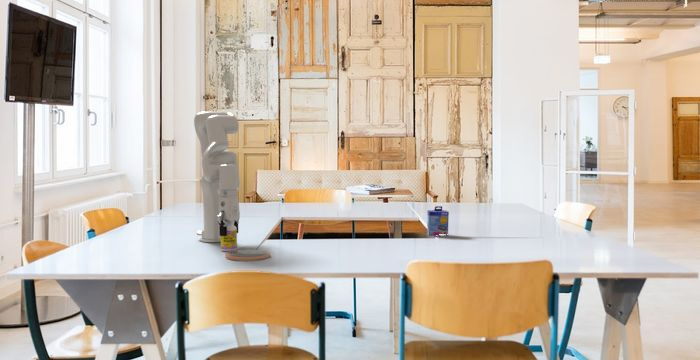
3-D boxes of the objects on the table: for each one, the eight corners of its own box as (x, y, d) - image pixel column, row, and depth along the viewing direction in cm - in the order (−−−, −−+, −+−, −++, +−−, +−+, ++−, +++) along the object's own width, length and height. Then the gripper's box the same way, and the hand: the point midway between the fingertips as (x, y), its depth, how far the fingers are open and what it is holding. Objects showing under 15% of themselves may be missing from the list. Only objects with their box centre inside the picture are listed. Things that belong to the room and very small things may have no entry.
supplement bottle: (221, 252, 267) (221, 221, 266) (220, 249, 274) (219, 219, 273) (237, 251, 269) (237, 220, 268) (236, 248, 275) (235, 218, 275)
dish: (216, 259, 252) (216, 255, 252) (238, 251, 269) (238, 248, 269) (258, 262, 246) (258, 258, 246) (277, 253, 263) (277, 250, 263)
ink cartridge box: (428, 236, 310) (428, 206, 309) (426, 234, 316) (426, 205, 315) (448, 236, 311) (449, 206, 310) (446, 234, 316) (446, 205, 315)
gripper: (226, 195, 260) (226, 237, 261) (246, 192, 277) (246, 232, 277) (209, 195, 263) (210, 236, 263) (230, 192, 279) (231, 231, 280)
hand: (229, 234), depth 270 cm, fingers open, 9 cm apart
